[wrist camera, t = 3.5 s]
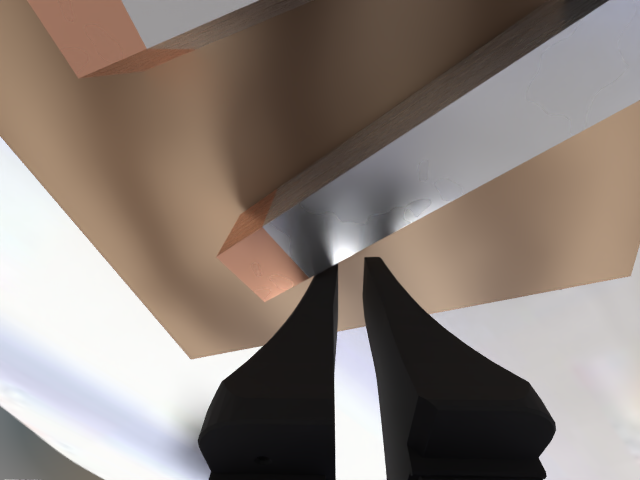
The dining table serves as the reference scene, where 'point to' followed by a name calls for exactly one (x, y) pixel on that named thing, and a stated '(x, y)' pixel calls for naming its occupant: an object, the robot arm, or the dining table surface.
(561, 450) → the dining table surface
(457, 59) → the board
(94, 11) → the tongs fixed half
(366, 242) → the tong arm
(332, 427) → the robot arm
